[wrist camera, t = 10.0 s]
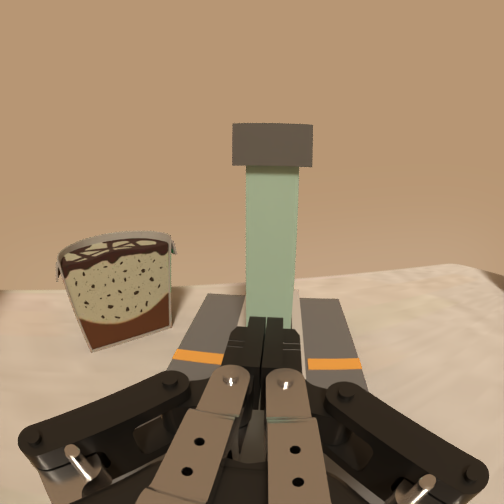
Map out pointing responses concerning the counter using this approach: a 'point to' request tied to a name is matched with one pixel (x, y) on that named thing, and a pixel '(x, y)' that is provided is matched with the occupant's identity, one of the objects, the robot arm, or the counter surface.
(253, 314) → the fader tab
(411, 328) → the counter surface
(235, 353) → the robot arm
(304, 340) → the slider console
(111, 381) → the counter surface
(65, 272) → the food container
